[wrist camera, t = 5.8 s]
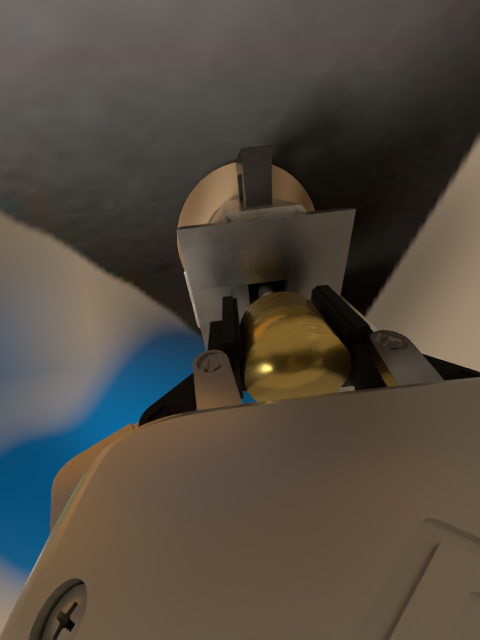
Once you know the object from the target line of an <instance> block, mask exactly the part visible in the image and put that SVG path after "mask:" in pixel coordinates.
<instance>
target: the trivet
mask: <svg viewBox="0 0 480 640" xmlns="http://www.w3.org/2000/svg"><path fill="white" fill-rule="evenodd" d="M236 197H239V195H238V184H237V172H236V162H235V163H231V164H228V165H225V166H223V167H220V168H218V169H217V170H215V171H213V172H211V173H210V174H209V175H207V176H206V177H205V178H204V179H202V180H201V181H200V183H199V184H198V185H197V186H196V187H195V188H194V189H193V191H192V192H191V194H190V195H189V196H188V198H187V200H186V202H185V204H184V206H183V209H182V212H181V215H180V218H179V223H178V228H179V227H182V226H191V225H199V224H207V223H208V221H209V219H210V218H211V216H212V215H213V213H214V212H215V211H216V210H217V209H218V208H219V207H220V206H221V205H222V204H223V203H224V201H227V200H231V199H233V198H236ZM272 197H273V198H277V199H281V200H285V201H289V202H293V203H297V204H301V205H302V206H303V207H304V208H305V209H306V210H307V212H310V211H315V209H314V207H313V204H312V201H311V199H310V197H309V196H308V194H307V192H306V191H305V189H304V188H303V187H302V185H301V184H300V183H299V182H298V181H297V180H296V179H295V178H294V177H293V176H292V175H290V174H289V173H287V172H286V171H285V170H283V169H281V168H279V167H277V166H275V165H272ZM177 244H178V251H179V256H180V259H181V262H182V265H183V267H184V269H186V267H185V263H184V259H183V255H182V251H181V247H180V242H179V238H178V234H177Z"/></svg>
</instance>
